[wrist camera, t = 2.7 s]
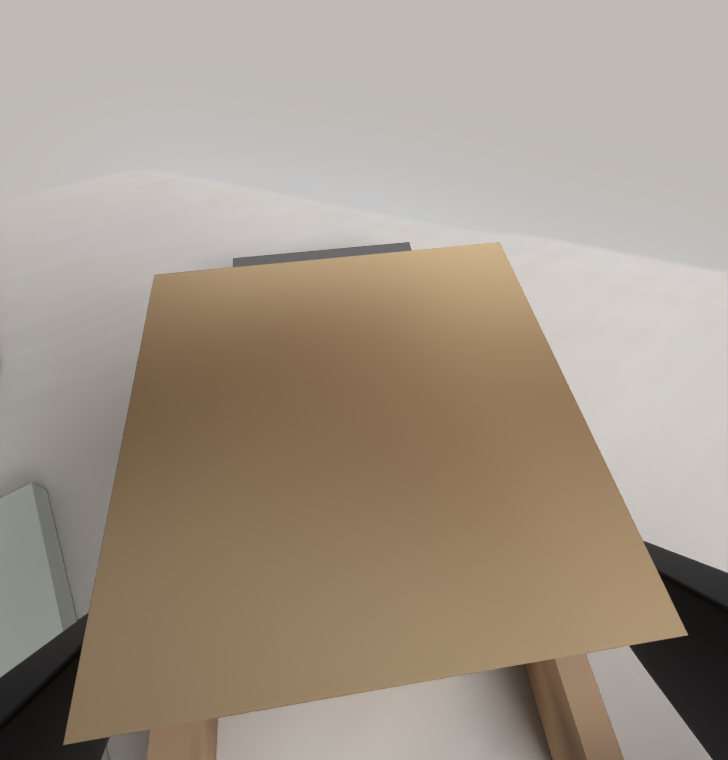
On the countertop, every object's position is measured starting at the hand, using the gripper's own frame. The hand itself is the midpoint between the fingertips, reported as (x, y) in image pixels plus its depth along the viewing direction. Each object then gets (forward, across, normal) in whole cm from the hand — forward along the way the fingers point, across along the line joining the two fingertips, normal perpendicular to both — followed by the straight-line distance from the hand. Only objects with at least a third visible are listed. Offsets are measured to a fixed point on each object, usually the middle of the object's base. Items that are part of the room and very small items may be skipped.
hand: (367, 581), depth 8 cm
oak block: (+7, 0, +6) cm, 9 cm away
